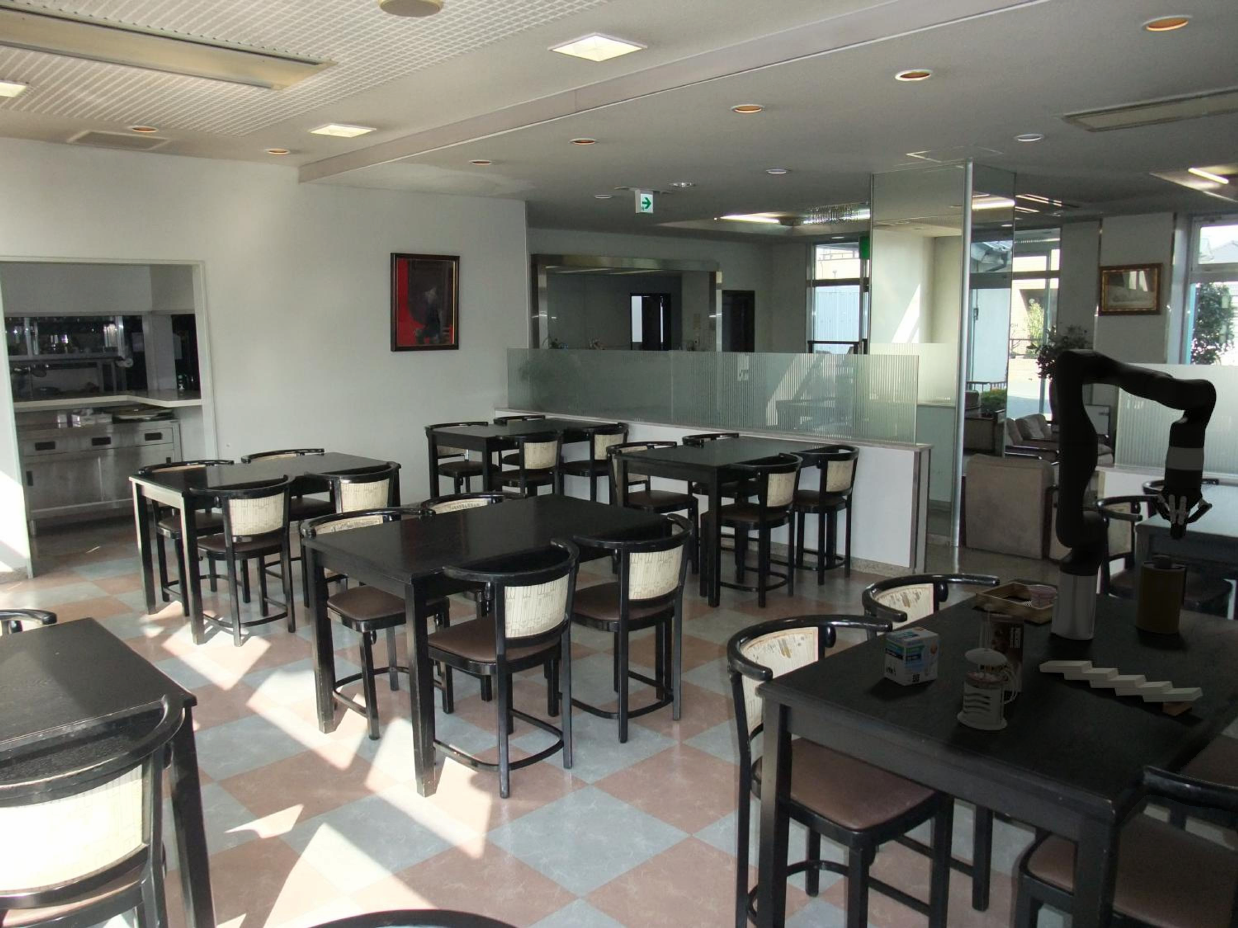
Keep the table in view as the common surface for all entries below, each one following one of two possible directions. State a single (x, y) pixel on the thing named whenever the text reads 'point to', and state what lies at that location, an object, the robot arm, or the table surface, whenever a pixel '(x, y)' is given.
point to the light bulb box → (911, 656)
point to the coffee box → (1004, 646)
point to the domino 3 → (1120, 682)
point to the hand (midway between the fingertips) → (1177, 539)
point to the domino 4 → (1146, 689)
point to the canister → (1161, 595)
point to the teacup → (1040, 595)
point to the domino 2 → (1093, 674)
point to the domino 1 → (1066, 666)
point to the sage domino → (1175, 695)
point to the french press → (985, 689)
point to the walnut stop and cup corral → (1041, 619)
